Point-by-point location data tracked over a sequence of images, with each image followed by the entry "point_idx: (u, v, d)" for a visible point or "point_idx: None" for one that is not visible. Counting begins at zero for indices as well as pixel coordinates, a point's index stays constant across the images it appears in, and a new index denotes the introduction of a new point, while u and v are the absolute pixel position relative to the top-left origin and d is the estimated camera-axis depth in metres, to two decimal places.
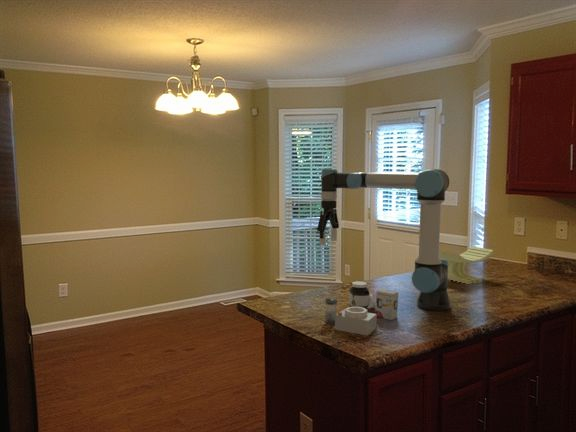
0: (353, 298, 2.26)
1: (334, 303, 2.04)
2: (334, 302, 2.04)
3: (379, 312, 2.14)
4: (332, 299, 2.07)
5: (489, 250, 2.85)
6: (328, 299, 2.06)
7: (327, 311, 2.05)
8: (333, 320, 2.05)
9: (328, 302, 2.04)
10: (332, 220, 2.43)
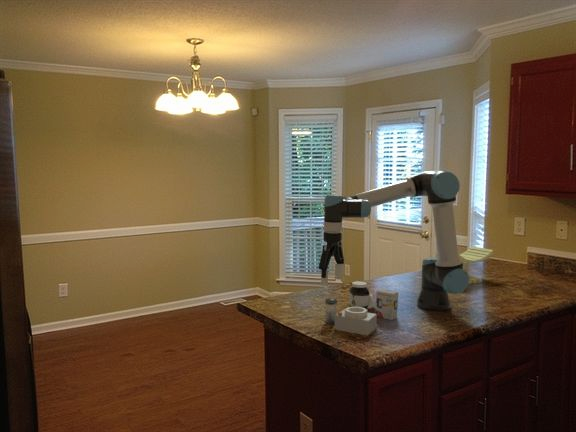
0: (353, 298, 2.26)
1: (334, 303, 2.04)
2: (334, 302, 2.04)
3: (379, 312, 2.14)
4: (332, 299, 2.07)
5: (489, 250, 2.85)
6: (328, 299, 2.06)
7: (327, 311, 2.05)
8: (333, 320, 2.05)
9: (328, 302, 2.04)
10: (336, 255, 2.07)
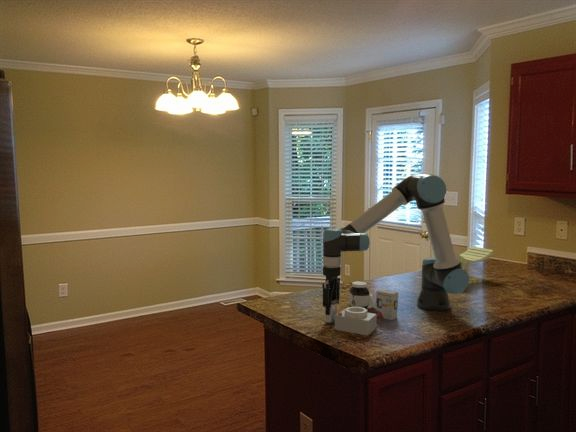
0: (353, 298, 2.26)
1: (334, 303, 2.04)
2: (334, 302, 2.04)
3: (379, 312, 2.14)
4: (332, 299, 2.07)
5: (489, 250, 2.85)
6: None
7: None
8: (333, 320, 2.05)
9: None
10: (333, 291, 2.07)
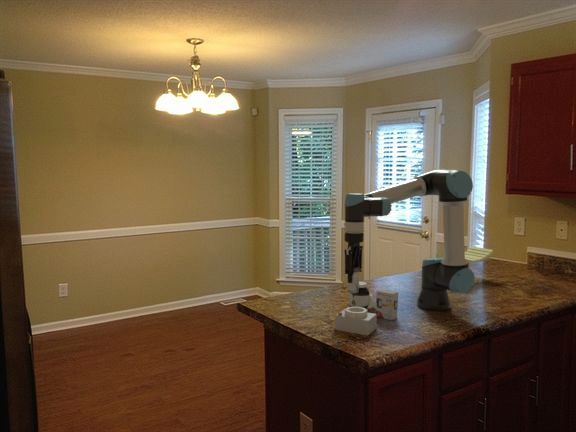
0: (353, 298, 2.26)
1: (357, 271, 1.96)
2: (357, 270, 1.96)
3: (379, 312, 2.14)
4: (355, 266, 1.99)
5: (489, 250, 2.85)
6: None
7: None
8: (356, 288, 1.97)
9: None
10: (356, 258, 1.99)
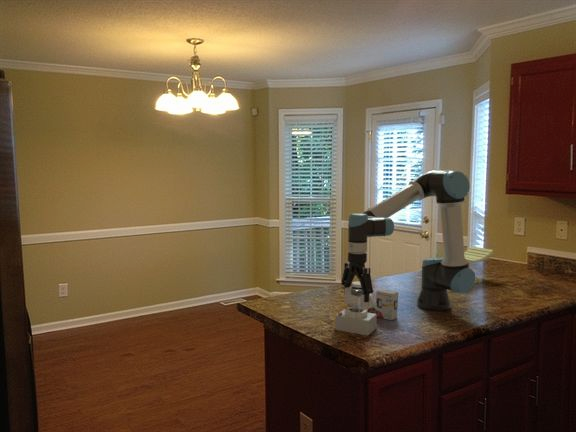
0: None
1: None
2: (362, 292, 1.98)
3: (379, 312, 2.14)
4: (355, 289, 1.99)
5: (489, 250, 2.85)
6: (355, 290, 1.97)
7: (358, 303, 1.96)
8: (361, 310, 1.98)
9: (360, 293, 1.96)
10: (352, 277, 2.00)
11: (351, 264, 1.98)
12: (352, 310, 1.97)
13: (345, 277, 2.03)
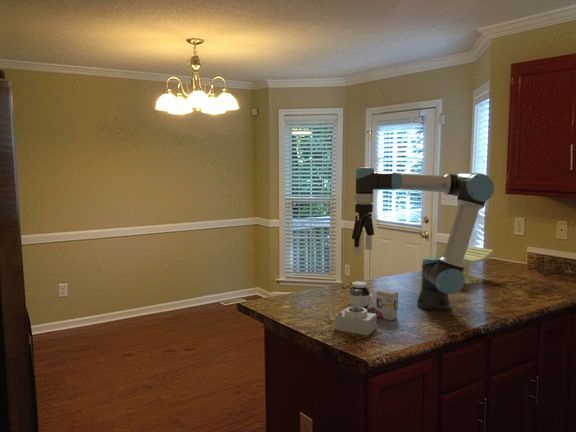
0: None
1: None
2: None
3: (379, 312, 2.14)
4: (354, 289, 1.99)
5: (489, 250, 2.85)
6: (354, 291, 1.97)
7: (358, 303, 1.96)
8: (361, 310, 1.98)
9: (359, 293, 1.96)
10: (367, 226, 2.15)
11: None
12: (352, 310, 1.97)
13: None
